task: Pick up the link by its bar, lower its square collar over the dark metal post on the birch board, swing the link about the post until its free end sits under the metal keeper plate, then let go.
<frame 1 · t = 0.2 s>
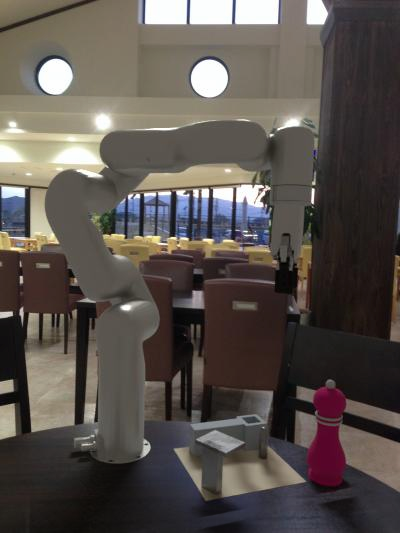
hand: (286, 290, 83), 36 cm above the table, tool pointing down, fingers open, 9 cm apart
link: (191, 453, 92), point 1 cm above the table, touching base board
base board: (235, 470, 88), on the table
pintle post: (262, 462, 91), resting on base board
keeper: (220, 489, 81), resting on base board
pepper mill: (324, 483, 85), on the table
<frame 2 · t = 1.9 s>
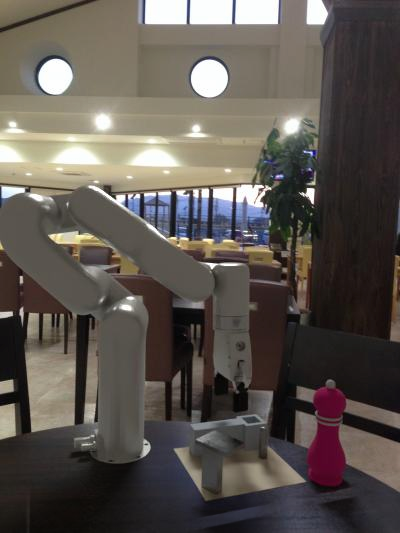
hand: (230, 402, 94), 11 cm above the table, tool pointing down, fingers open, 9 cm apart
nothing on the table moved.
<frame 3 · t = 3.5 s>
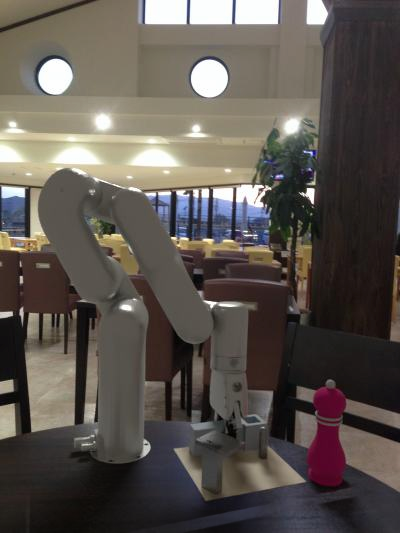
hand: (224, 445, 95), 2 cm above the table, tool pointing down, fingers closed on link, 3 cm apart
link: (191, 453, 92), point 1 cm above the table, touching base board, gripper
everything else where it was.
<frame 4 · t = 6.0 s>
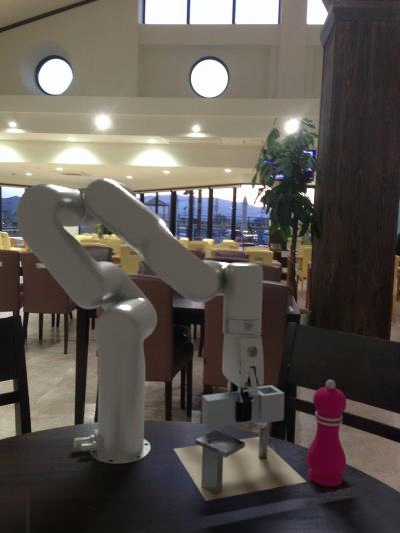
hand: (239, 416, 89), 11 cm above the table, tool pointing down, fingers closed on link, 3 cm apart
link: (204, 426, 86), point 9 cm above the table, touching gripper
everything else where it was.
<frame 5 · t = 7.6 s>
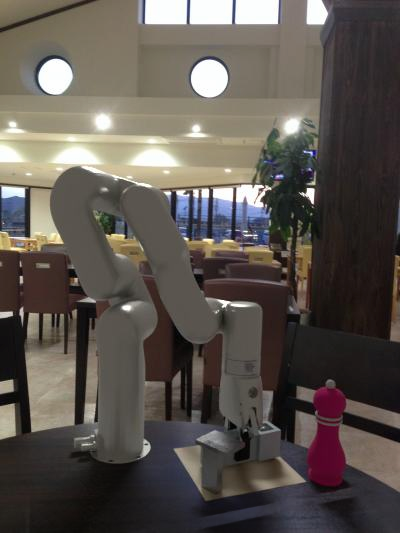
hand: (237, 454, 89), 3 cm above the table, tool pointing down, fingers closed on link, 3 cm apart
link: (203, 466, 86), point 2 cm above the table, touching gripper
everything else where it was.
when the fingers open (3 cm above the table, at t = 8.7 s): link stays where it is, resting on base board.
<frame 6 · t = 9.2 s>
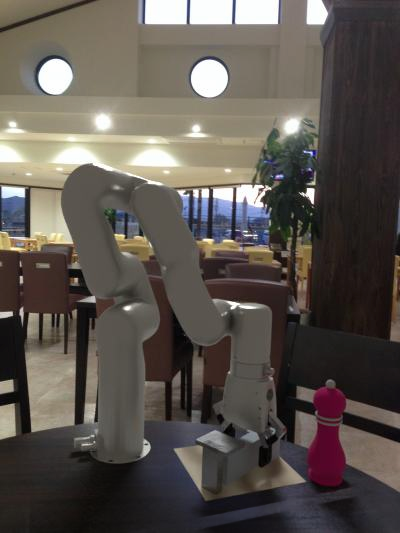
hand: (245, 456, 87), 4 cm above the table, tool pointing down, fingers open, 8 cm apart
link: (220, 482, 82), point 1 cm above the table, touching base board
everything else where it was.
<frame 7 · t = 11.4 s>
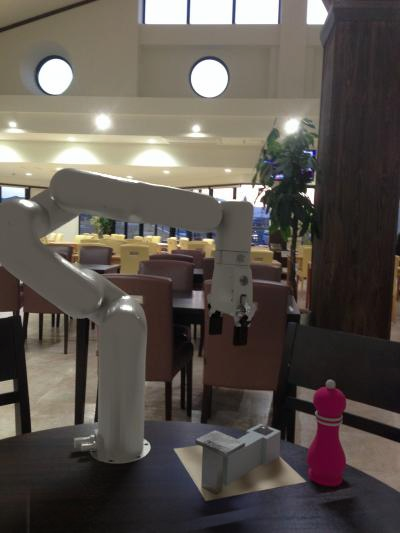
hand: (226, 339, 95), 24 cm above the table, tool pointing down, fingers open, 9 cm apart
nothing on the table moved.
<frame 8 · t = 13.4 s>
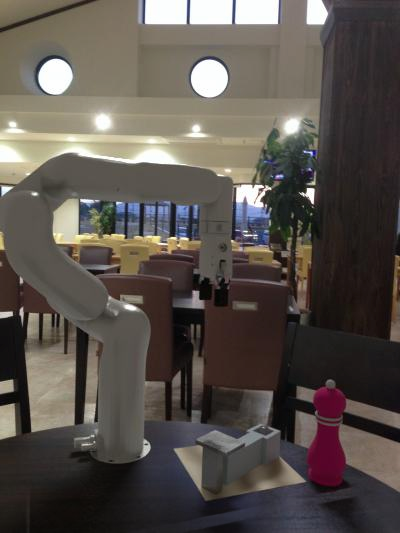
hand: (212, 303, 104), 30 cm above the table, tool pointing down, fingers open, 9 cm apart
nothing on the table moved.
at the end: link 0.2 cm off-centre on the keeper, point 1.2 cm above the keeper's base; link tilted 0°; the gripper is holding nothing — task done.
